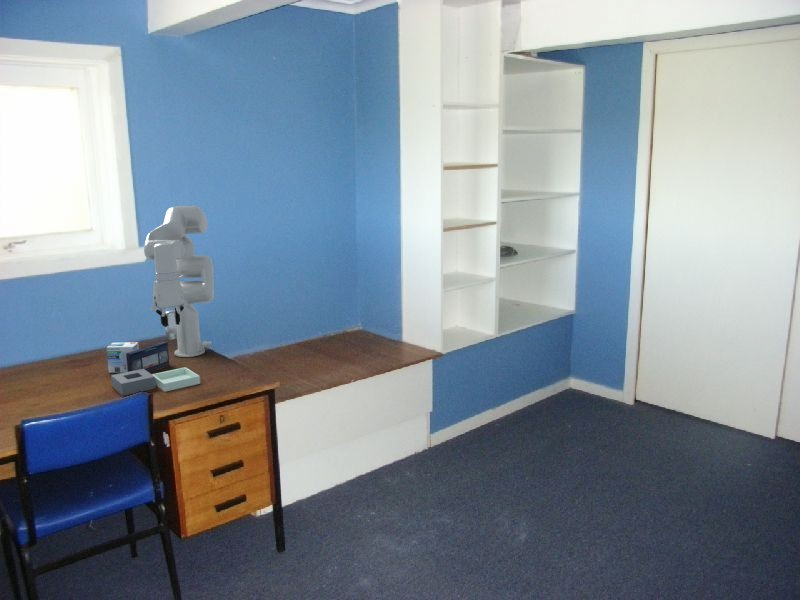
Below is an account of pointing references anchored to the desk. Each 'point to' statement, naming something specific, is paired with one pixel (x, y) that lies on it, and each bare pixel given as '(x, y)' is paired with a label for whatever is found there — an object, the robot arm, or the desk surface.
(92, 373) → the desk surface
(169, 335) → the steel pin
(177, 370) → the tray
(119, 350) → the light bulb box
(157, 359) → the vhs cassette tape
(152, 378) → the pin holder
